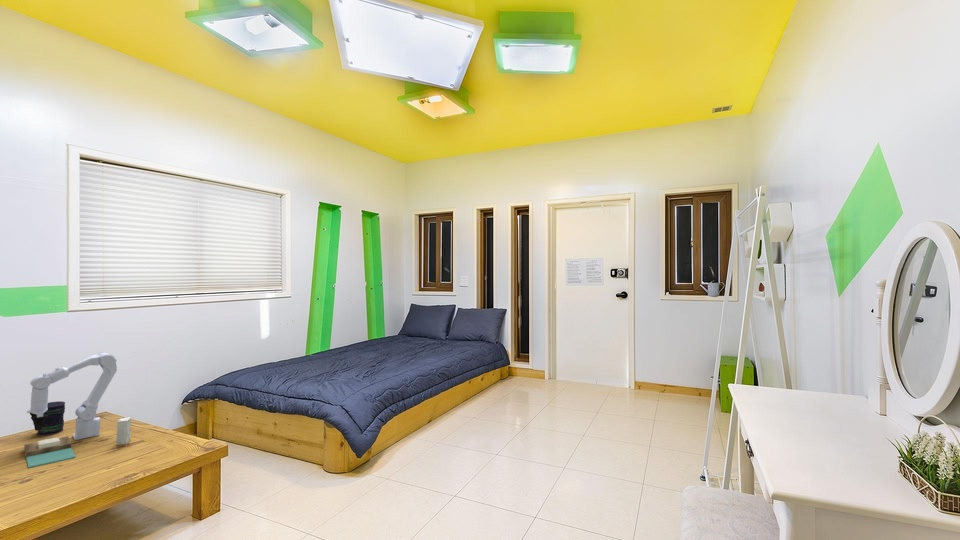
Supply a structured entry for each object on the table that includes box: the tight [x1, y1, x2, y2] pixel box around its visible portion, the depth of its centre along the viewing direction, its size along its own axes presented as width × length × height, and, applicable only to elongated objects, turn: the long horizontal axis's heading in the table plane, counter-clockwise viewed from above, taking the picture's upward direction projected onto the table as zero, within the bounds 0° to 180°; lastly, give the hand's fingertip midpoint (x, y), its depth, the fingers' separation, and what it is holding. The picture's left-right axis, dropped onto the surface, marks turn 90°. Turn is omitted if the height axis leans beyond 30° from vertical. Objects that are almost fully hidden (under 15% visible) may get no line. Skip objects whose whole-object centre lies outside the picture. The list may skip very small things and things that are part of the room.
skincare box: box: [115, 416, 132, 446], centre depth 212 cm, size 6×4×12 cm
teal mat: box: [25, 447, 76, 469], centre depth 191 cm, size 15×14×1 cm
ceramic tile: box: [37, 437, 60, 449], centre depth 199 cm, size 7×6×2 cm
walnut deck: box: [23, 436, 72, 458], centre depth 200 cm, size 15×12×2 cm
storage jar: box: [36, 401, 66, 437], centre depth 219 cm, size 10×10×15 cm
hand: (37, 427), depth 202 cm, fingers open, 7 cm apart
